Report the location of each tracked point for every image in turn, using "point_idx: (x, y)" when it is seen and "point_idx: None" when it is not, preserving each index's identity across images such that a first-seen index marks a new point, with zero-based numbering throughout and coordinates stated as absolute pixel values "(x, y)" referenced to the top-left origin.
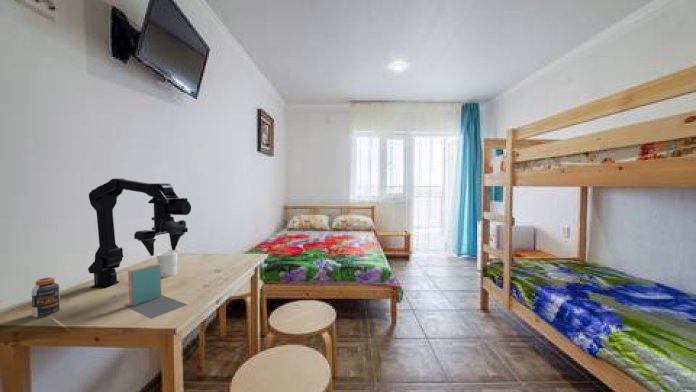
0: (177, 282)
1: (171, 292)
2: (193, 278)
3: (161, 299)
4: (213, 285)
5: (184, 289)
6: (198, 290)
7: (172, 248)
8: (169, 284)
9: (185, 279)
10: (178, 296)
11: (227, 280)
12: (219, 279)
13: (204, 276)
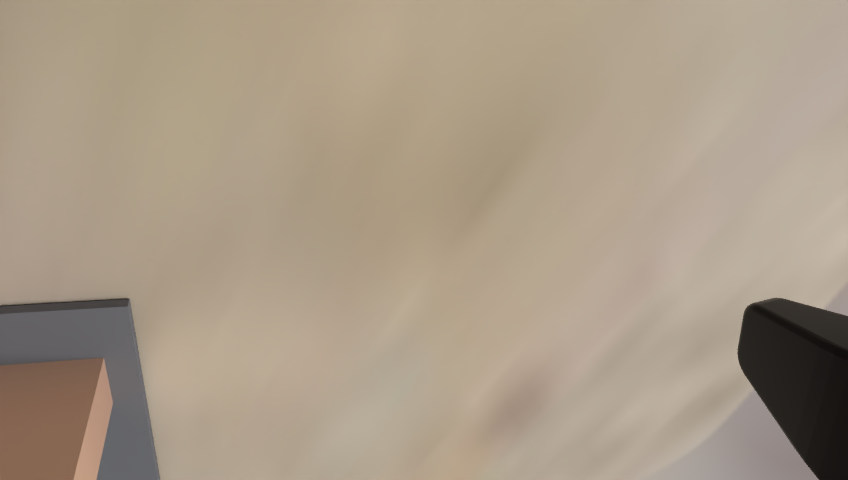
0: (482, 71)
1: (250, 331)
2: (661, 106)
3: None
4: (552, 445)
5: (369, 351)
6: (413, 456)
7: (785, 353)
8: (386, 53)
9: (603, 49)
10: (237, 460)
11: (688, 428)
12: (696, 359)
13: (750, 154)
